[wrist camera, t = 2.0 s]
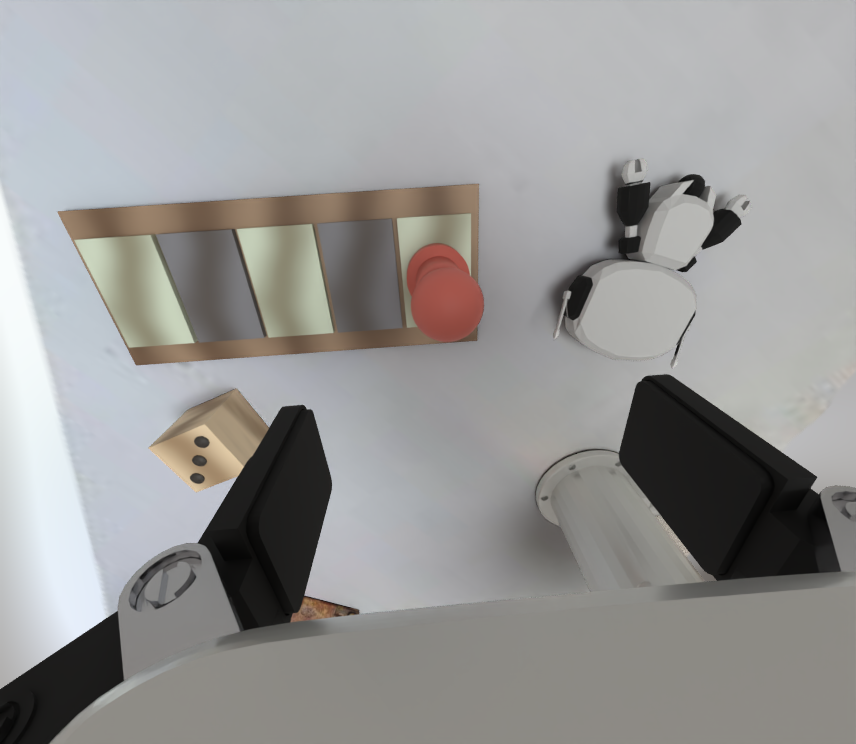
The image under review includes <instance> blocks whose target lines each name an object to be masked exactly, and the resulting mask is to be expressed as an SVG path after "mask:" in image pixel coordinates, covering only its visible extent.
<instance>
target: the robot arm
mask: <svg viewBox="0 0 856 744" xmlns="http://www.w3.org/2000/svg"><path fill="white" fill-rule="evenodd" d="M816 478H817V476H815V475H814V474H812V473H811V472H809V471H808V470H807V469H805V468H803V467H802V466H801V465H799V464H798V463H796V462H795V461H794V460H792V459H791V458H789V457H788V456H786V455H785V454H783V453H782V452H781V451H779V450H778V449H776V448H775V447H773V446H772V445H770V444H769V443H768V442H766V441H765V440H763V439H762V438H760V437H759V436H757V435H756V434H755V433H753V432H752V431H750V430H749V429H747V428H746V427H744V426H743V425H742V424H740V423H739V422H737V421H736V420H734V419H733V418H731V417H730V416H729V415H727V414H726V413H724V412H723V411H721V410H720V409H719V408H717V407H716V406H714V405H713V404H711V403H710V402H708V401H707V400H706V399H704V398H703V397H701V396H700V395H698V394H697V393H695V392H694V391H693V390H691V389H690V388H688V387H687V386H685V385H684V384H682V383H681V382H680V381H678V380H677V379H675V378H674V377H672V376H670V375H667V374H664V375H653V376H646V377H644V378H643V379H642V381H641V382H638V384H637V385H636V388H635V392H634V396H633V400H632V404H631V408H630V412H629V416H628V420H627V424H626V428H625V431H624V435H623V439H622V443H621V447H620V451H619V454H618V453H615V452H611V451H604V450H594V451H586V452H582V453H578V454H575V455H572V456H569V457H567V458H565V459H564V460H562V461H560V462H558V463H557V464H556V465H554V466H553V467H552V468H551V469H550V470H549V471H548V472H547V473H546V474H545V475H544V476H543V478H542V479H541V480H540V482H539V485H538V487H537V491H536V502H537V505H538V507H539V510H540V512H541V514H542V515H543V516H544V517H545V518H546V519H547V520H548V521H550V522H551V523H553V524H555V525H557V526H561V528H562V531H563V533H564V535H565V537H566V539H567V542H568V544H569V546H570V548H571V550H572V553H573V555H574V557H575V559H576V561H577V564H578V566H579V568H580V570H581V572H582V575H583V577H584V579H585V581H586V583H587V586H588V588H589V590H590V592H585V593H574V594H563V595H552V596H542V597H531V598H520V599H509V600H498V601H488V602H478V603H468V604H457V605H447V606H437V607H426V608H416V609H406V610H396V611H385V612H375V613H366V614H358V615H349V616H340V617H332V618H323V619H315V620H306V621H297V622H290V621H291V618H292V614H293V613H298V612H299V610H300V608H301V605H302V601H303V598H304V594H305V590H306V586H307V582H308V579H309V575H310V571H311V567H312V563H313V559H314V556H315V552H316V548H317V544H318V540H319V537H320V533H321V529H322V525H323V521H324V517H325V514H326V510H327V506H328V502H329V498H330V494H331V490H332V480H331V475H330V472H329V468H328V464H327V461H326V457H325V454H324V450H323V446H322V443H321V439H320V435H319V432H318V428H317V424H316V421H315V417H314V414H313V411H312V410H311V409H310V410H307V409H306V407H305V406H304V405H297V406H285V407H282V408H281V409H280V411H279V412H278V414H277V416H276V417H275V419H274V421H273V422H272V424H271V426H270V427H269V429H268V431H267V433H266V434H265V436H264V438H263V439H262V441H261V443H260V444H259V446H258V448H257V449H256V451H255V453H254V454H253V456H252V457H250V459H249V460H248V461H247V462H246V464H245V466H244V467H243V469H242V471H241V472H240V474H239V476H238V477H237V479H236V481H235V482H234V484H233V486H232V487H231V489H230V491H229V492H228V494H227V495H226V497H225V499H224V500H223V502H222V504H221V505H220V507H219V509H218V510H217V512H216V514H215V515H214V517H213V519H212V520H211V522H210V524H209V525H208V527H207V528H206V530H205V532H204V533H203V535H202V537H201V538H200V540H199V542H198V543H186V544H182V545H178V546H174V547H172V548H170V549H168V550H166V551H164V552H162V553H160V554H158V555H157V556H155V557H154V558H152V559H151V560H149V561H148V562H147V563H146V564H144V565H143V566H142V567H141V568H140V569H139V570H138V571H137V572H136V573H135V574H134V575H133V576H132V578H131V579H130V580H129V581H128V583H127V584H126V585H125V587H124V589H123V591H122V593H121V595H120V597H119V603H118V611H117V612H115V613H114V614H112V615H111V616H109V617H108V618H106V619H105V620H103V621H102V622H100V623H99V624H97V625H96V626H94V627H93V628H91V629H90V630H88V631H87V632H85V633H84V634H82V635H81V636H79V637H78V638H76V639H75V640H74V641H72V642H70V643H69V644H67V645H66V646H64V647H63V648H61V649H60V650H58V651H57V652H55V653H54V654H52V655H51V656H49V657H48V658H46V659H45V660H43V661H42V662H40V663H39V664H38V665H36V666H34V667H33V668H31V669H30V670H28V671H27V672H25V673H24V674H22V675H21V676H19V677H18V678H16V679H15V680H13V681H12V682H10V683H9V684H7V685H6V686H4V687H3V688H1V689H0V744H856V488H853V487H848V486H830V487H826V488H825V489H823V490H822V491H821V492H820V494H817V493H816V492H815V491H813V490H812V489H810V488H811V486H812V485H813V483H814V481H815V480H816ZM656 516H657V517H660V516H662V518H663V519H664V520H665V521H666V523H667V524H668V525H669V527H670V528H671V529H672V530H673V532H674V533H675V534H676V536H677V537H678V538H679V539H680V541H681V542H682V543H683V544H684V546H685V547H686V548H687V550H688V551H689V552H690V553H691V555H692V556H693V557H694V558H695V560H696V561H697V562H698V563H699V565H700V566H701V567H702V568H703V569H704V571H705V572H707V573H708V574H711V575H713V576H714V577H715V579H716V580H717V581H711V582H710V581H709V582H705V581H704V579H703V578H702V576H701V575H700V574H699V573H698V571H697V570H696V569H695V567H694V566H693V565H692V563H691V562H690V561H689V560H688V558H687V557H686V556H685V554H684V553H683V552H682V550H681V549H680V548H679V546H678V545H677V544H676V542H675V541H674V540H673V539H672V537H671V536H670V535H669V533H668V532H667V531H666V529H665V528H664V527H663V525H662V524H661V523H660V522H659V520H658V519H657V518H656Z"/></svg>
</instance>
